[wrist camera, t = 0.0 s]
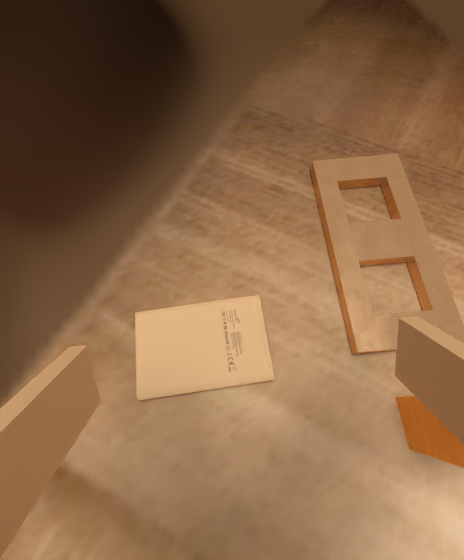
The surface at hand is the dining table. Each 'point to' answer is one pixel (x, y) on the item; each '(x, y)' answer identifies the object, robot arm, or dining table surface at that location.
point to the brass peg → (429, 432)
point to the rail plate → (380, 250)
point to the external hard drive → (201, 347)
